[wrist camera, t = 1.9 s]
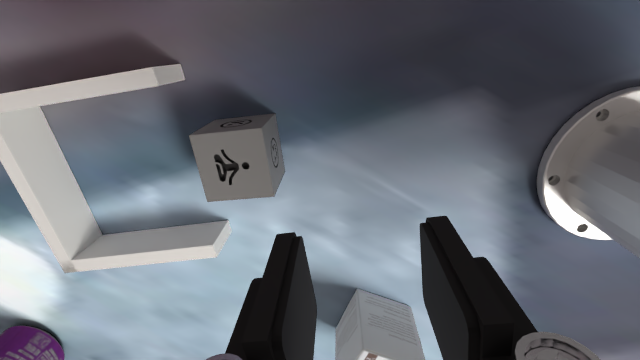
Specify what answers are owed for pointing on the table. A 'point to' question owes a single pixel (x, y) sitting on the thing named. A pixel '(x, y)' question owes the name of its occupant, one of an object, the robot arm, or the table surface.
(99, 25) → the table surface
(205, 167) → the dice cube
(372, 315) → the skincare box
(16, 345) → the beverage can
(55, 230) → the box
